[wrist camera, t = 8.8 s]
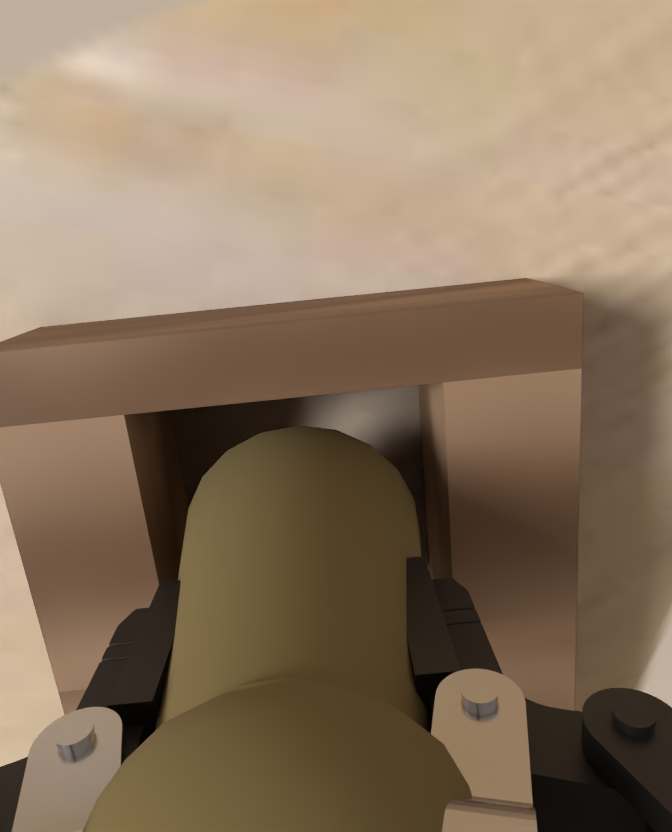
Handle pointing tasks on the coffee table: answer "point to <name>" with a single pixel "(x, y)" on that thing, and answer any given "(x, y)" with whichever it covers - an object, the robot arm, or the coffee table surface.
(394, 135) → the coffee table surface
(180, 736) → the cork
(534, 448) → the socket stand
